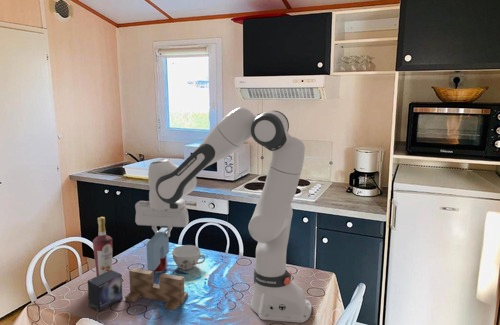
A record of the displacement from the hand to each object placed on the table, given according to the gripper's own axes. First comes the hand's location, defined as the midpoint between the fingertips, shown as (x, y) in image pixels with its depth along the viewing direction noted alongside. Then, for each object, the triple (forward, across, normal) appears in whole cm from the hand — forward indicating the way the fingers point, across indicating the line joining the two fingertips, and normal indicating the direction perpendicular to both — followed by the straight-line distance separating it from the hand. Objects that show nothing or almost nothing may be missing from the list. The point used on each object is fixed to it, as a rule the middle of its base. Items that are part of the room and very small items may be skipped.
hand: (162, 236), depth 143 cm
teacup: (+23, +4, +21) cm, 31 cm away
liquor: (+22, -26, +2) cm, 34 cm away
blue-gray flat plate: (+8, 0, -5) cm, 9 cm away
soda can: (+23, -9, +17) cm, 30 cm away
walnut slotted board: (+23, -1, -6) cm, 23 cm away
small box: (+23, -18, -12) cm, 31 cm away
